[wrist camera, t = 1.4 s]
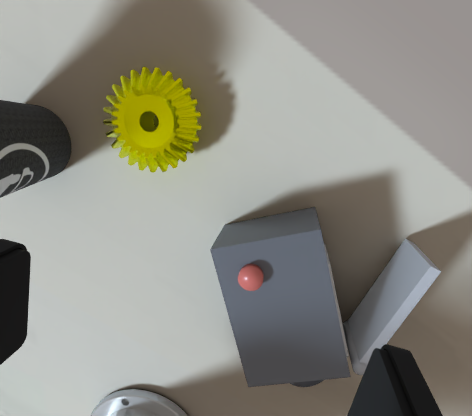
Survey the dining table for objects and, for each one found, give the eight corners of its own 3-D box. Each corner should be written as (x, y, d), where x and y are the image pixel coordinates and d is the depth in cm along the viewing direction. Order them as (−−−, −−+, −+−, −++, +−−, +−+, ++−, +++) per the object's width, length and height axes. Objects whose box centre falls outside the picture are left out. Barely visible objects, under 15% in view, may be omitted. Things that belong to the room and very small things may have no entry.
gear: (215, 161, 30) (200, 63, 28) (205, 168, 27) (187, 55, 25) (129, 172, 32) (109, 79, 30) (108, 180, 28) (84, 74, 26)
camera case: (344, 341, 33) (357, 397, 26) (258, 351, 34) (250, 406, 28) (317, 206, 30) (324, 232, 23) (225, 224, 31) (208, 253, 25)
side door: (355, 336, 32) (368, 380, 27) (340, 328, 32) (349, 370, 27) (420, 246, 29) (449, 275, 24) (403, 237, 29) (427, 264, 24)
